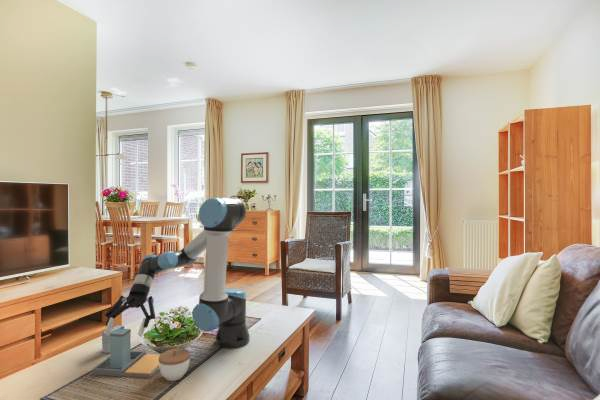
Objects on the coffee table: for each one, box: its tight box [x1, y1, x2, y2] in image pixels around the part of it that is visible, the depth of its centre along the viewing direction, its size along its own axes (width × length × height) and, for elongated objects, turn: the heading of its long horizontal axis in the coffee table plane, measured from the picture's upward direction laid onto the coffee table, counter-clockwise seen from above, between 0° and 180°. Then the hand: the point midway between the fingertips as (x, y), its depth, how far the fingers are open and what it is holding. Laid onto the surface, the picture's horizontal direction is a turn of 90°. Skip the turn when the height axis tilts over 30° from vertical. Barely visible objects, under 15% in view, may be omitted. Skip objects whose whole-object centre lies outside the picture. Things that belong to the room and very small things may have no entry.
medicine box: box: [101, 324, 125, 354], centre depth 145 cm, size 8×4×9 cm, turn 168°
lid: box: [121, 353, 161, 379], centre depth 130 cm, size 11×16×1 cm
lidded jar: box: [159, 348, 191, 382], centre depth 123 cm, size 11×11×9 cm
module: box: [109, 328, 132, 370], centre depth 131 cm, size 5×5×13 cm
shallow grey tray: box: [91, 350, 147, 377], centre depth 131 cm, size 12×16×2 cm
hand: (123, 334), depth 136 cm, fingers open, 13 cm apart
